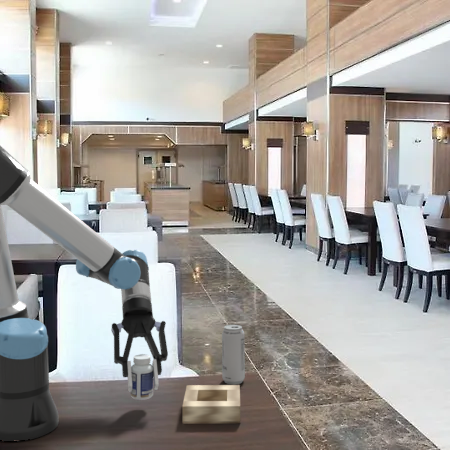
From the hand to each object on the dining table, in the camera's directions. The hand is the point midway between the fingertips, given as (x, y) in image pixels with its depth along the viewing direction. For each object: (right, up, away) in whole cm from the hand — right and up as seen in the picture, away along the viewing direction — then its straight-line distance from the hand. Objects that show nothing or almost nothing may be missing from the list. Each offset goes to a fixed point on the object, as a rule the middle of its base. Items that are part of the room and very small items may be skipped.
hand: (143, 387), depth 136 cm
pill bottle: (-1, -3, +4) cm, 5 cm away
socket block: (+16, -6, +2) cm, 17 cm away
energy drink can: (+21, -4, +22) cm, 31 cm away
